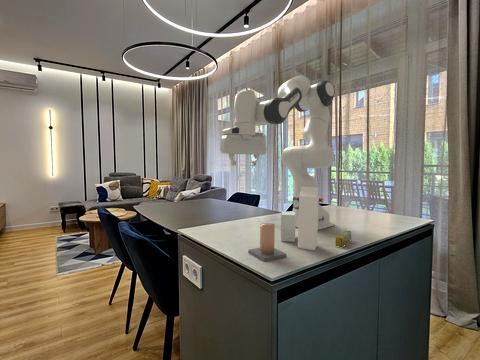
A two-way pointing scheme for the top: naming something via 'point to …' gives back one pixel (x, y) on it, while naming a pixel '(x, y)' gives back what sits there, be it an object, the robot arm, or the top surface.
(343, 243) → the medication box
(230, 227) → the top surface
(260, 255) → the coaster
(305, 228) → the milk
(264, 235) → the tan round cylinder
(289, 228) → the small box
